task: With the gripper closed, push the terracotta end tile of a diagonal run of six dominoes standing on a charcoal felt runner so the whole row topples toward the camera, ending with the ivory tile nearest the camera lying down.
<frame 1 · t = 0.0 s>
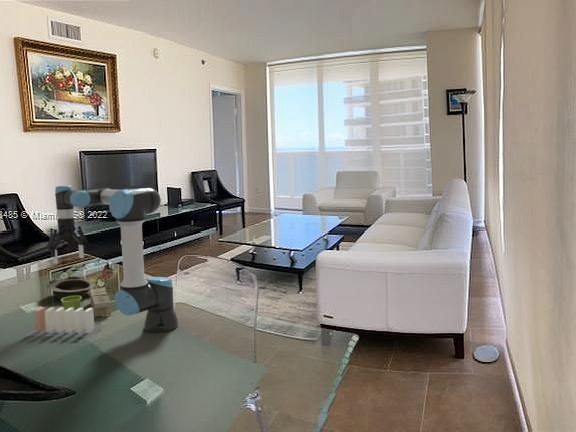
hand: (68, 260, 230), 28 cm above the table, fingers open, 13 cm apart
felt runner: (65, 331, 213), on the table
stone bowl: (72, 296, 267), on the table
domino 3: (70, 330, 213), resting on felt runner
domino 6: (41, 330, 214), resting on felt runner
plant pot: (72, 315, 235), on the table
domino 2: (80, 330, 212), resting on felt runner
block tower: (100, 310, 243), on the table
domino 1: (90, 331, 212), resting on felt runner
domino 5: (51, 330, 213), resting on felt runner
domino 4: (61, 330, 213), resting on felt runner
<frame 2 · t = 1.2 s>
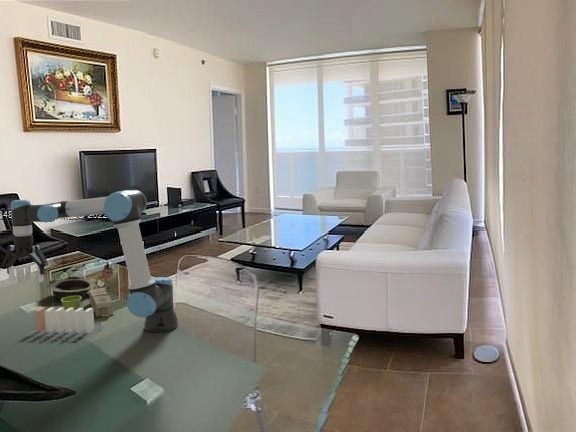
hand: (26, 281, 212), 23 cm above the table, fingers open, 13 cm apart
nothing on the table moved.
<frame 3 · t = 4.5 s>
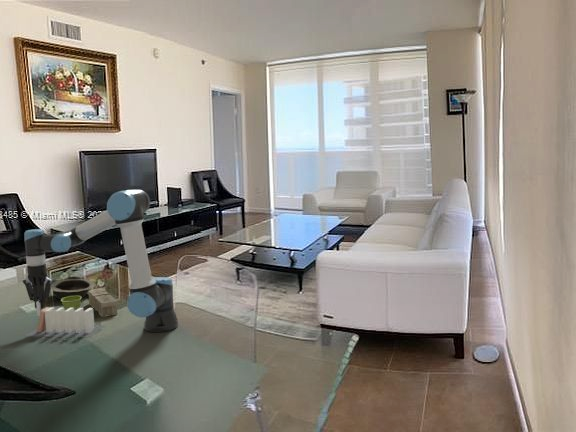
hand: (40, 315, 213), 8 cm above the table, fingers closed
domino 6: (41, 329, 214), point 1 cm above the table, tilted 15°, touching felt runner
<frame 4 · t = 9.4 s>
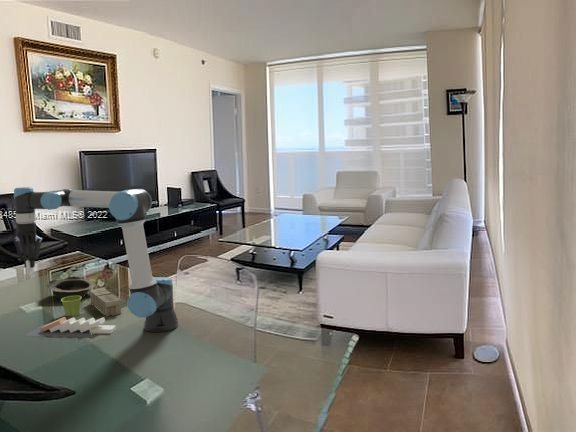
hand: (30, 274, 210), 26 cm above the table, fingers closed
domino 3: (72, 329, 213), point 1 cm above the table, tilted 67°, touching domino 2, domino 4, felt runner
domino 6: (43, 328, 213), point 1 cm above the table, tilted 67°, touching domino 5
domino 2: (82, 329, 212), point 1 cm above the table, tilted 67°, touching domino 1, domino 3
block tower: (105, 309, 245), on the table
domino 1: (92, 329, 212), point 1 cm above the table, tilted 90°, touching domino 2, felt runner
domino 5: (53, 328, 213), point 1 cm above the table, tilted 67°, touching domino 4, domino 6, felt runner
domino 4: (63, 328, 213), point 1 cm above the table, tilted 67°, touching domino 3, domino 5
everything else where it was.
at the end: domino 1 tilted 90°; domino 6 tilted 67° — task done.
